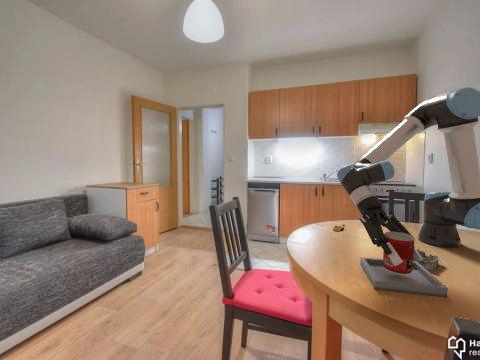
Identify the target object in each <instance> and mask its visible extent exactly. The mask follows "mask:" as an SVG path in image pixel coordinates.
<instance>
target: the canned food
mask: <svg viewBox="0 0 480 360" xmlns="http://www.w3.org/2000/svg"><path fill="white" fill-rule="evenodd" d="M383 233H384V236H385V239H386V243H387V242H390V244H391V245H392V247H393V248H394V249H395V251H396V252H397V254H398V255H399V257H400V258H401V260H402V261H403V262H402V263H401V264H399V265H397V266H395V265H394V264H393V262H392V261H391V259H390V258H389V256H388V255H387V254H386V253H385V252H384V251H383V255H382V257H383V258H382V259H383V265H384V267H385V268H386V269H387V270H389V271H392V272H395V273H400V274H409V273H411V272H412V270H413V258H414V247H415V236H414V235H412V234H411V235H409V234H406V233H401V232H391V231H385V232H383Z"/></svg>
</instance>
